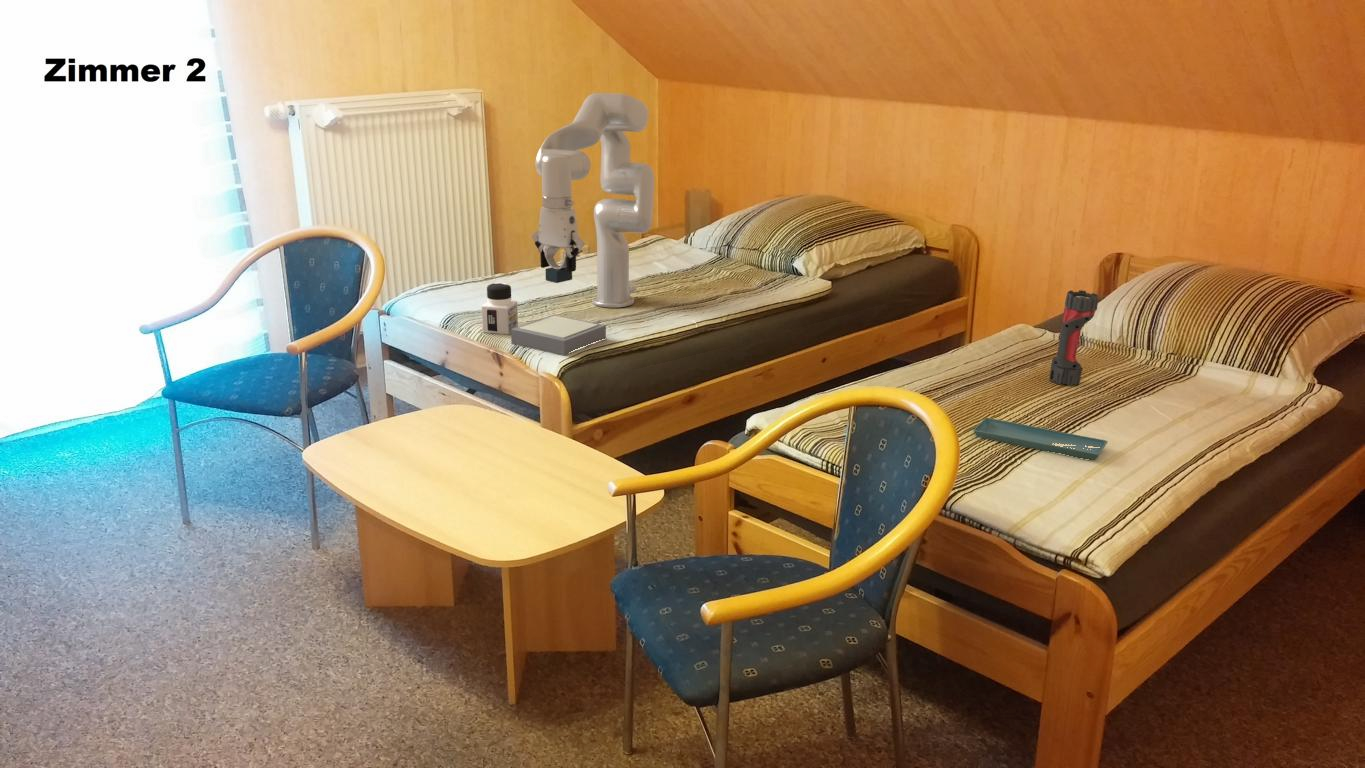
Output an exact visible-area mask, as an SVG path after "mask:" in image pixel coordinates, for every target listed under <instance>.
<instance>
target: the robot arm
mask: <svg viewBox="0 0 1365 768" xmlns="http://www.w3.org/2000/svg"><path fill="white" fill-rule="evenodd" d="M648 123H649V109H648V107H647V106H646V103H644V102H643V101H641V100H639V99H638V98H635V97H634V96H631V95H629V94H625V93H613V92H611V93H610V92H608V93H607V92H596V93H591V94H589V95H588V96H587V97H586V98H585V99H584V101H583V103H582V104H581V107H579V110H578V112H577V113H576V115H575V118H574V119H573V121H572V122H571V123H568V124H567V125H565V126H563V127H561V128H559V129H557V130H556V131H553V132H552V133H550V134H549V135H548V136H547V137H546V138H545V139H544V141H543V142H542V144H541V146H540V148H539V149H538V152H537V154H536V157H535V163H534V164H535V165H534V166H535V169H536V170H535V171H536V172H537V174H538V175H539V176H541V188H542V189H541V192H542V193H541V195H542V198H541V199H542V206H541V207H540V211H539V221H538V230H536V231H535V232H534V233H532V234H531V238H532V240H533V242H534V245H535V247H536V248H537V252H538V253H540V268H541V269H545V268H547V267H548V268H549V267H551V266H550V265H549V264H548V262H547V259H546V257H545V253H544V251H543V248H544V246H545V245H549V246H553V247H559V249H564V248H565V250H566V253H567V255H568V257H567V258H566V269H567V272H572V273H573V272H575V271H576V270H577V256H579V254H580V253H581V252H582V249H583V248H584V246H585V241H584V240H583V239H582V238H580V237H579V229H578V227H579V226H578V220H577V215H576V214H577V213H576V211H575V208H573V207H574V206H575V201H574V200H573V199H572V197H573V196H572V181H580V180H582V179H584V178H586V177H587V176H588V175H589V173H590V171H591V165H592V164H591V160H590V157H589V155H588V154H587V153H585V152H584V151H581V150H584V149H587V148H590V147H592V146H595V145H596V144H597V143H598V142H599V141H600V144H601V145H600V147H601V153H600V154H601V159H600V187H601V189H602V191H603V192H605V193H608V194H613V195H622V196H623V195H625V196H634V197H635V199H634V200H633V199H625V198H623V199H622V198H603V199H600V200H599V201H597V202H596V204H595V205H594V208H593V221H594V226H595V232H596V233H595V234H596V247H597V248H596V258H597V259H596V261H597V262H596V263H597V264H596V265H597V266H596V267H597V274H596V275H597V278H596V279H597V280H596V281H597V283H596V285H597V289H596V290H597V295H595V296H594V297H593V298H592V299H591V300H592V302H591V303H592V304H593V305H595V306H597V307H600V308H601V307H602V308H609V309H611V308H625V307H628V306H632V305H633V304H634V303H635V299H634V298H633V296H631V293H633V292H637V286H636V285H635V284H633V285H630V264H629V263H630V246H629V242H628V239H627V238H626V237H625V235H624V234H623V233H631V234H646V233H648V232H649V231H650V230H651V227H652V224H653V217H654V216H653V215H654V202H655V201H654V199H655V198H654V196H655V195H654V194H655V174H654V169H653V168H652V167H651V166H650V165H649V164H647V163H643V162H632V161H631V150H632V149H631V148H632V147H631V143H630V140H629V138H628V137H627V135H626V133H625V132H632V133H639V132H642V131H643V130H645V129H646V127H647V125H648ZM570 248H571V250H570Z"/></svg>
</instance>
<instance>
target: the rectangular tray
mask: <svg viewBox="0 0 1365 768" xmlns="http://www.w3.org/2000/svg"><path fill="white" fill-rule="evenodd" d="M973 433H974V435H975V436H976V437H978V438H982V439H986V440H989V441H990V440H991V441H996V442H1001V443H1004V444H1009V443H1010V445H1013V446H1014V445H1015V446H1018V445H1019V447H1024V448H1028V449H1032V448H1033V449H1034V450H1038V451H1041V452H1042V451H1043V452H1047V451H1049V452H1048V453H1051V452H1055V453H1054V454H1056V453H1061V454H1065V455H1064V456H1066V455H1069V456H1068V457H1070V456H1073V457H1072V458H1075V457H1077V458H1076V459H1080V458H1083V459H1082V460H1085V459H1089V460H1088V461H1090V460H1095V461H1096V460H1097V459H1098V457H1099V456H1100V454H1101V453H1102V451H1103V450H1104V448H1105V447H1106V445H1107V444H1108V440H1106V439H1100V438H1095V437H1090V436H1085V435H1079V434H1073V433H1070V432H1069V433H1068V432H1063V431H1058V430H1052V429H1048V428H1042V427H1037V426H1032V425H1029V424H1028V425H1027V424H1024V423H1017V422H1012V421H1006V420H1001V419H997V418H991V417H985V418H983V420H982V421H980V423H978V424H977V425H976V426H975V427H974V428H973ZM1050 443H1051V444H1050ZM1052 443H1054V444H1055V443H1057V444H1059V443H1060V444H1064V445H1065V444H1067V445H1068V444H1069V445H1071V444H1072V445H1076V446H1063V447H1060V446H1055V445H1052ZM1085 445H1086V446H1087V447H1085ZM1088 446H1093V447H1100V448H1088ZM1067 447H1068V448H1067ZM1070 447H1071V448H1072V449H1071V448H1070ZM1073 448H1075V449H1073ZM1083 448H1084V449H1083ZM1087 449H1088V450H1087ZM1090 449H1091V450H1090ZM1061 454H1060V455H1061Z"/></svg>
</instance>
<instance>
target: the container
mask: <svg viewBox="0 0 1365 768" xmlns="http://www.w3.org/2000/svg"><path fill="white" fill-rule="evenodd" d="M486 301H487V302H486V303H483V304H481V325H482V326H481V327H482V333H484V334H485V333H487V334H497V335H511V329H513V328H516V327H519V321H518V320H519V319H518V317H519V315H518V313H519V312H518V301H517V300H512V286H511V285H510V284H508V283H505V282H494V283H490V284H489V285H487V287H486Z"/></svg>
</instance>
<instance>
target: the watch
mask: <svg viewBox="0 0 1365 768" xmlns="http://www.w3.org/2000/svg"><path fill="white" fill-rule="evenodd" d="M559 250H560V248H559V247H553V246H549V245H545V246H544V248H543V251H544V253H545V257H546V259H547V262H548V264H549V265H550V266H549V267H548V268H547V267H546V268H544V269H545V270H544V271H545V281H547V282H549V283H550V282H552V283H555V284H559V283H560V284H561V283H564V282H568V281H572V280H573V272H567V269H566V258H567V257H568V255H567V253H566V250H565V248H563V251H564V255H563V257H562V261H561V264H560V265H558V263H557V262H556V260H555V258H554V257H555V256H556V253H557V252H558V251H559ZM570 250H571V248H570Z"/></svg>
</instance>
